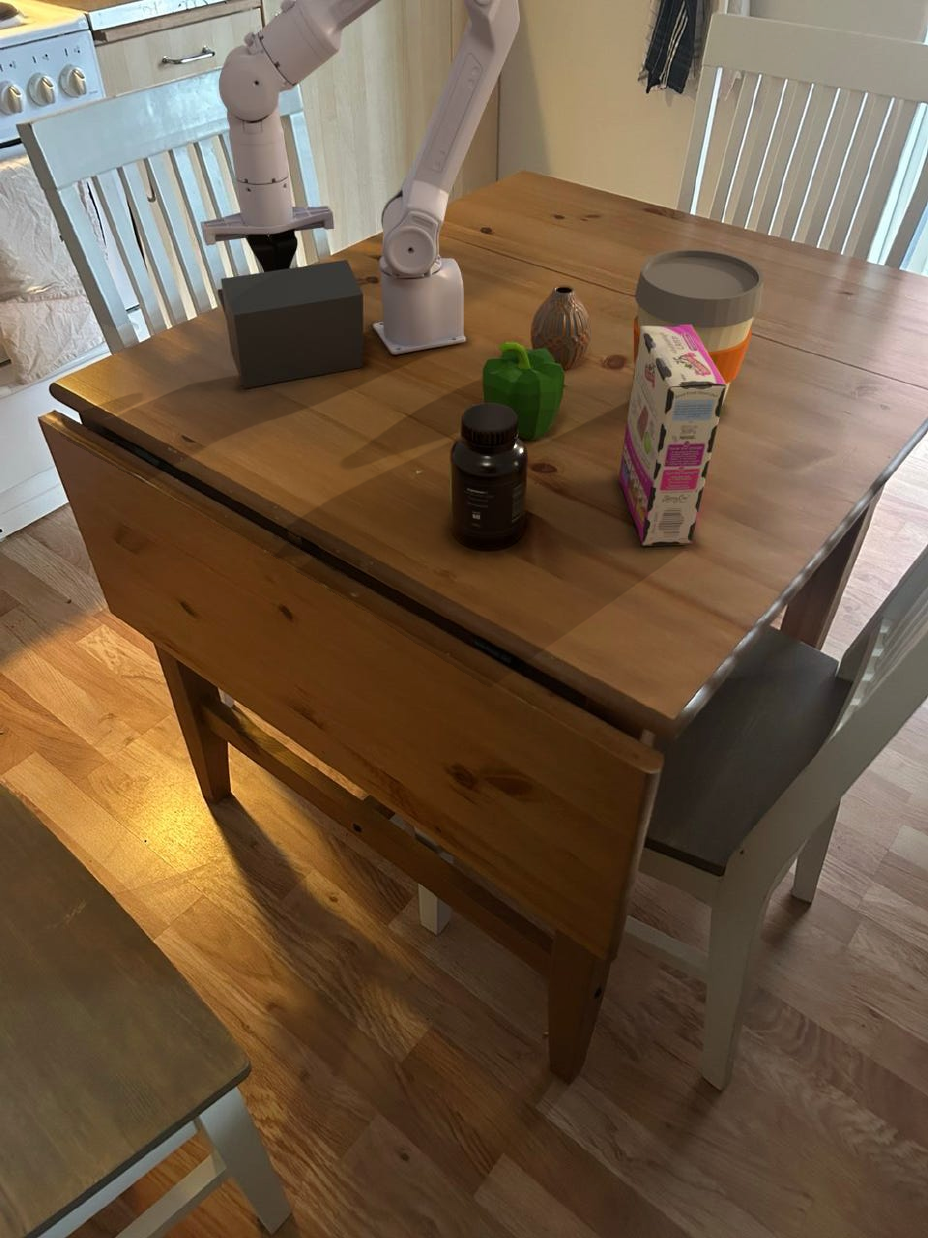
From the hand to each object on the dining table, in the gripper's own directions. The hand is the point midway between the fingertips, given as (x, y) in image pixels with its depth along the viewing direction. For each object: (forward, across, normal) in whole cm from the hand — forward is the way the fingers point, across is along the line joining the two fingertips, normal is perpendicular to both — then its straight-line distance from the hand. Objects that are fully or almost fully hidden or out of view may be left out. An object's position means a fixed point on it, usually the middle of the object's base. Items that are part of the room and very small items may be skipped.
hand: (277, 295), depth 113 cm
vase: (+5, -29, +17) cm, 34 cm away
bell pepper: (+5, -19, +29) cm, 35 cm away
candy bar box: (+5, -25, +47) cm, 53 cm away
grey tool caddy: (0, 0, +12) cm, 12 cm away
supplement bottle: (+5, -9, +44) cm, 45 cm away
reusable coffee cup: (+5, -37, +31) cm, 49 cm away
